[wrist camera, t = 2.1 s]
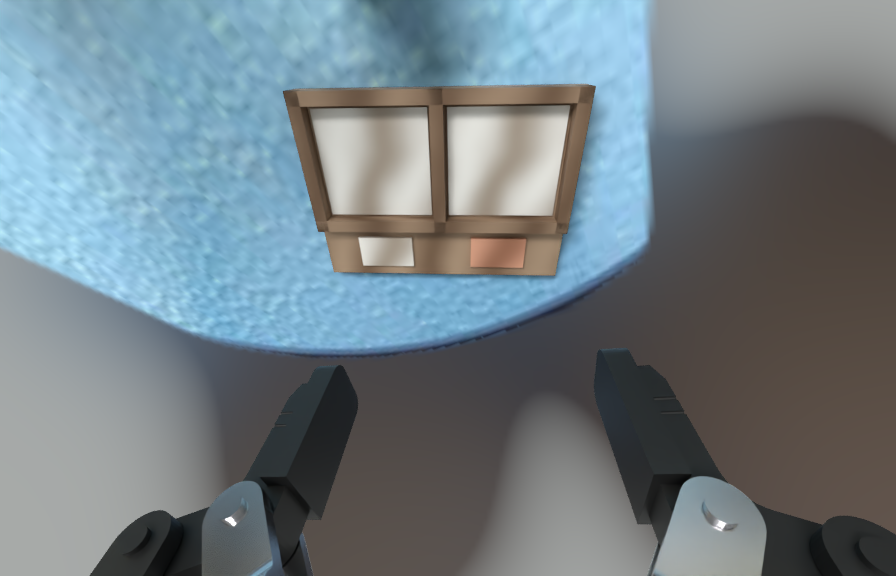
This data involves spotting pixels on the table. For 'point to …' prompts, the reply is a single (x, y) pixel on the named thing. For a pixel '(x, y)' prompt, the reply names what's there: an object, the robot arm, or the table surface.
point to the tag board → (442, 174)
